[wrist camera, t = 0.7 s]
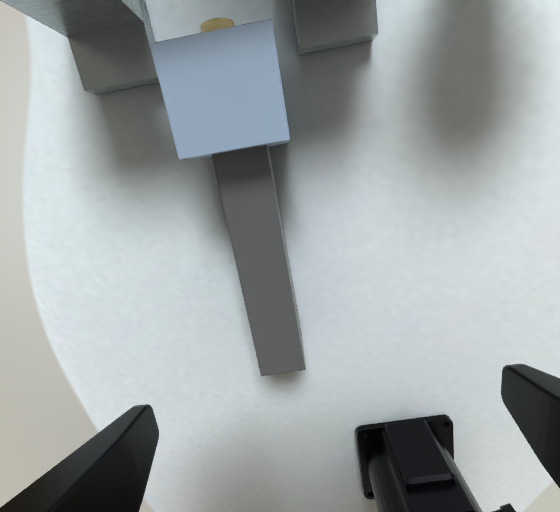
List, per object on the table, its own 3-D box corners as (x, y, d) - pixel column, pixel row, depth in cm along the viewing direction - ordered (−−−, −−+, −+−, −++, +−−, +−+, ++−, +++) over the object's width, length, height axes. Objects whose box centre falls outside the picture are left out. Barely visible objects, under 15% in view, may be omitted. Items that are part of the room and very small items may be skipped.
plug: (317, 332, 21) (328, 386, 16) (249, 342, 21) (239, 398, 16) (270, 35, 16) (266, -16, 11) (182, 53, 16) (141, 10, 11)
